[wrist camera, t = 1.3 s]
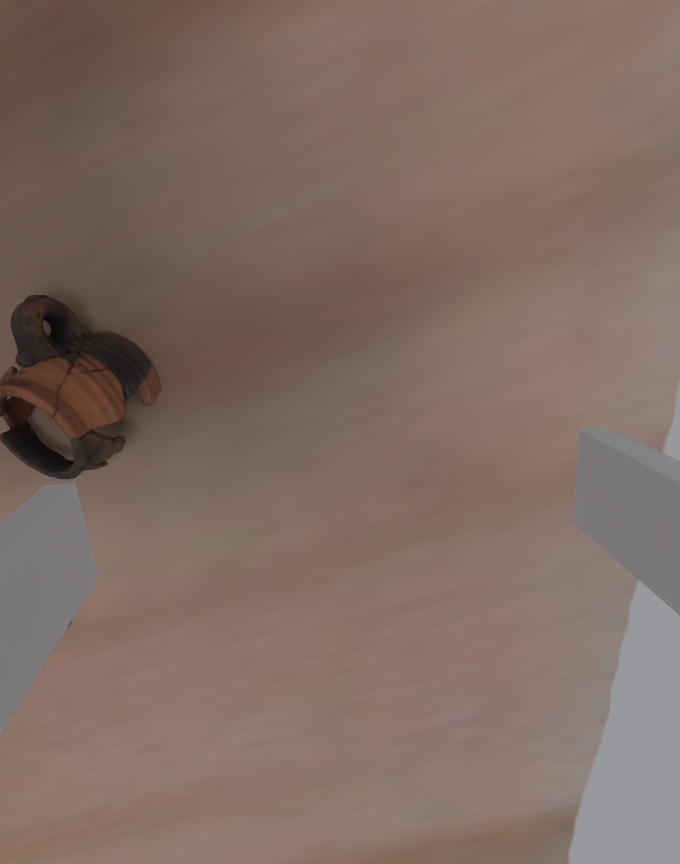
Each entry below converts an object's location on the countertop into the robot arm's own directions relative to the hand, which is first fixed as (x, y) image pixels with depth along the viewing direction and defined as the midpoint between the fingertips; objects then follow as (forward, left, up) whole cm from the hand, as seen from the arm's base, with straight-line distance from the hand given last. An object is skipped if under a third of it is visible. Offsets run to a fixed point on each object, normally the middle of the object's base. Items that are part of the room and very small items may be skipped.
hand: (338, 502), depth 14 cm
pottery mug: (-7, -14, -27) cm, 31 cm away
